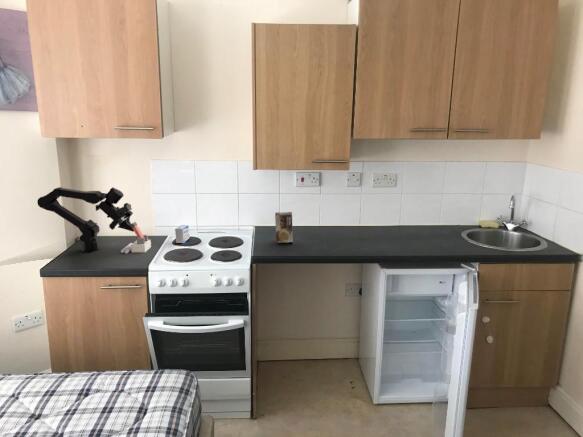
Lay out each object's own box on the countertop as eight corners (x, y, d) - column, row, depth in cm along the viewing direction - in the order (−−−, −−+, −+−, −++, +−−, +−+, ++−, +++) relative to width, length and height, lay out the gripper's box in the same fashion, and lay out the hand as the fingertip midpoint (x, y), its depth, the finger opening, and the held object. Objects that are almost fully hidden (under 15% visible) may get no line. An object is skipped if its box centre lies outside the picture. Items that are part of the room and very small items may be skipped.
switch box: (131, 252, 230) (130, 239, 228) (138, 247, 239) (136, 234, 237) (145, 252, 230) (143, 239, 228) (151, 246, 239) (149, 234, 237)
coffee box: (292, 240, 245) (292, 211, 241) (293, 244, 239) (292, 214, 235) (276, 240, 245) (275, 212, 241) (275, 244, 239) (275, 214, 235)
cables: (127, 254, 227) (126, 251, 227) (119, 254, 228) (118, 251, 227) (137, 245, 242) (137, 242, 241) (130, 245, 242) (130, 242, 242)
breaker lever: (140, 242, 232) (129, 225, 229) (142, 240, 235) (132, 223, 233) (143, 240, 231) (133, 223, 229) (145, 238, 235) (135, 221, 232)
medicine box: (183, 244, 242) (182, 228, 240) (176, 244, 243) (174, 228, 241) (189, 240, 249) (188, 225, 247) (182, 239, 250) (181, 224, 248)
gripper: (112, 203, 219) (137, 224, 221) (127, 195, 237) (150, 215, 239) (98, 218, 221) (123, 240, 223) (114, 210, 239) (136, 230, 242)
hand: (134, 230), depth 232 cm, fingers closed, pressing on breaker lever
